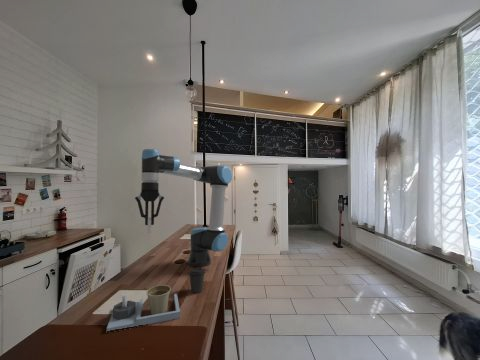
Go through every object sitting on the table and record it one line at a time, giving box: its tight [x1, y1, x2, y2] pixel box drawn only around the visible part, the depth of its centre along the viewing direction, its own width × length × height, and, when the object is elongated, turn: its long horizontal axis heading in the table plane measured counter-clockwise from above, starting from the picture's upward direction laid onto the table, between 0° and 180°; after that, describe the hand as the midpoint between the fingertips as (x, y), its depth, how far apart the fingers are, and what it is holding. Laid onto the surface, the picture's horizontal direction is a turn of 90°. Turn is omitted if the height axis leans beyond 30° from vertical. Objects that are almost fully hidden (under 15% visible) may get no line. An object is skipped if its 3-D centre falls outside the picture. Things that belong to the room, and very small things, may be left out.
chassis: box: [106, 293, 181, 332], centre depth 89 cm, size 25×16×8 cm, turn 110°
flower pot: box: [146, 284, 172, 315], centre depth 91 cm, size 9×9×9 cm
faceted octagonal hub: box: [112, 300, 137, 320], centre depth 86 cm, size 8×8×3 cm
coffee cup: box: [188, 268, 206, 294], centre depth 109 cm, size 8×8×10 cm
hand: (149, 231), depth 105 cm, fingers closed
